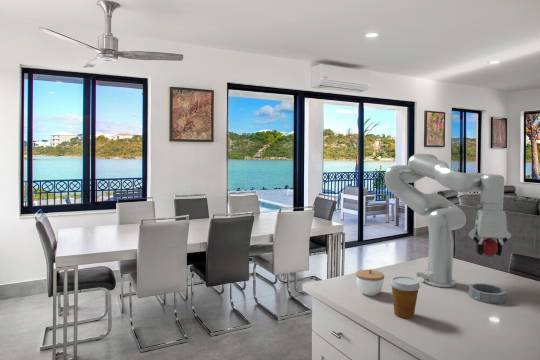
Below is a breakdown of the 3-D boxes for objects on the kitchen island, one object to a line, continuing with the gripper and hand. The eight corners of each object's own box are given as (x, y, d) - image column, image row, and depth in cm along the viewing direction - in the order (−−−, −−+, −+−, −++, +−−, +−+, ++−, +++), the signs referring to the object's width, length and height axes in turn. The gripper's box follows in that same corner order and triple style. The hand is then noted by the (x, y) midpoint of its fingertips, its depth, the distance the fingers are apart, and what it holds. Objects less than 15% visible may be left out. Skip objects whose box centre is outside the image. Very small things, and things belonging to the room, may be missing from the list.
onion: (497, 260, 146) (498, 238, 145) (479, 257, 149) (480, 236, 148) (497, 256, 151) (498, 235, 150) (480, 254, 154) (481, 234, 153)
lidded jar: (388, 292, 155) (389, 269, 155) (375, 300, 147) (376, 275, 147) (364, 286, 163) (364, 264, 162) (350, 293, 155) (350, 269, 154)
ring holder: (477, 303, 145) (478, 293, 145) (463, 291, 157) (464, 283, 157) (511, 304, 145) (511, 295, 144) (495, 292, 157) (495, 284, 156)
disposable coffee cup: (406, 323, 128) (407, 287, 127) (383, 312, 136) (384, 278, 135) (424, 316, 133) (426, 282, 132) (401, 307, 141) (403, 274, 140)
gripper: (471, 208, 145) (469, 256, 147) (520, 209, 144) (517, 257, 145) (463, 205, 153) (461, 251, 154) (509, 206, 151) (507, 252, 153)
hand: (488, 253), depth 150 cm, fingers closed on onion, 5 cm apart
